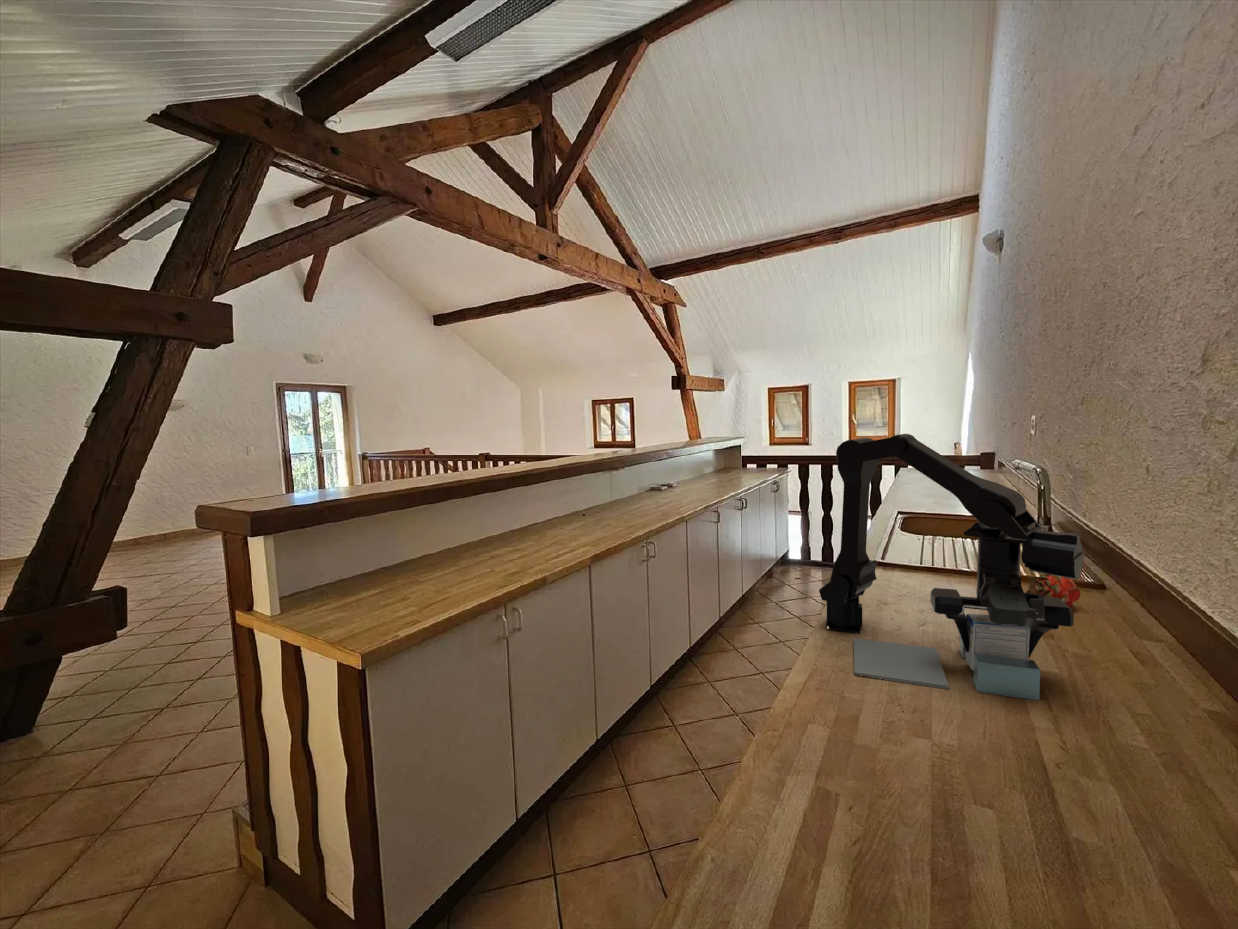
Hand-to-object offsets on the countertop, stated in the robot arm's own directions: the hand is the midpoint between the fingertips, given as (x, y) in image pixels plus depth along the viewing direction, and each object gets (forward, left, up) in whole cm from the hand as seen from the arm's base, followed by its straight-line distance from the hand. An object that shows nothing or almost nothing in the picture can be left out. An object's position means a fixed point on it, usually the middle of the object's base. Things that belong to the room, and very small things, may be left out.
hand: (995, 654), depth 88 cm
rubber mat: (-15, -1, -3) cm, 15 cm away
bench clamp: (0, +3, -3) cm, 5 cm away
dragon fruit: (+18, +36, -4) cm, 40 cm away
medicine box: (0, 0, -3) cm, 3 cm away
